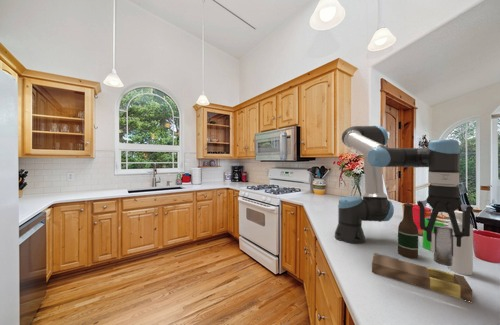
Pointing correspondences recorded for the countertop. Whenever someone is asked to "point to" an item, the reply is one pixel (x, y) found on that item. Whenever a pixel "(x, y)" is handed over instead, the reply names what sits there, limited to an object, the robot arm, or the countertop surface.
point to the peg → (443, 245)
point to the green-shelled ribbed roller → (425, 242)
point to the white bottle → (463, 250)
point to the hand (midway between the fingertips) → (442, 253)
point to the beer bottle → (408, 234)
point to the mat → (386, 256)
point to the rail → (423, 277)
